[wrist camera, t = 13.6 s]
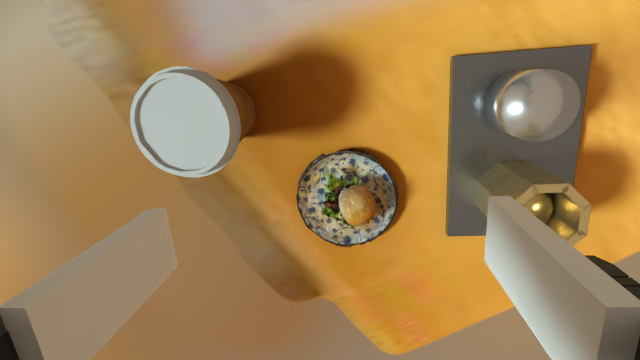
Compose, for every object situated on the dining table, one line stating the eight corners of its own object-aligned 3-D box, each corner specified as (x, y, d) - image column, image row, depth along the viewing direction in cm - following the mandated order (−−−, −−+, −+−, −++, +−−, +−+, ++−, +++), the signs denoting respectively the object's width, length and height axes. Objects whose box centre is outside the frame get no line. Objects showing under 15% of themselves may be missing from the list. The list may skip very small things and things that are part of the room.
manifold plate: (450, 56, 36) (468, 53, 31) (586, 45, 35) (631, 40, 29) (445, 232, 42) (459, 257, 36) (561, 229, 41) (595, 255, 35)
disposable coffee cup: (181, 73, 40) (110, 74, 28) (262, 62, 38) (222, 58, 27) (199, 155, 42) (141, 186, 31) (276, 147, 41) (245, 176, 30)
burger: (294, 150, 41) (281, 166, 34) (396, 144, 40) (404, 159, 33) (304, 242, 45) (294, 274, 38) (398, 239, 43) (406, 272, 36)
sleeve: (478, 163, 38) (508, 185, 31) (546, 160, 37) (595, 182, 30) (474, 222, 40) (502, 257, 33) (539, 220, 39) (583, 255, 32)
